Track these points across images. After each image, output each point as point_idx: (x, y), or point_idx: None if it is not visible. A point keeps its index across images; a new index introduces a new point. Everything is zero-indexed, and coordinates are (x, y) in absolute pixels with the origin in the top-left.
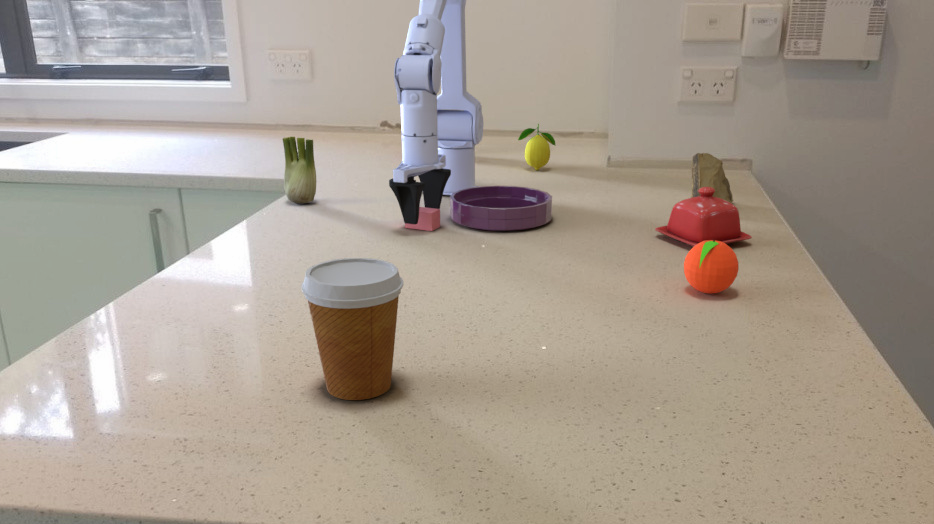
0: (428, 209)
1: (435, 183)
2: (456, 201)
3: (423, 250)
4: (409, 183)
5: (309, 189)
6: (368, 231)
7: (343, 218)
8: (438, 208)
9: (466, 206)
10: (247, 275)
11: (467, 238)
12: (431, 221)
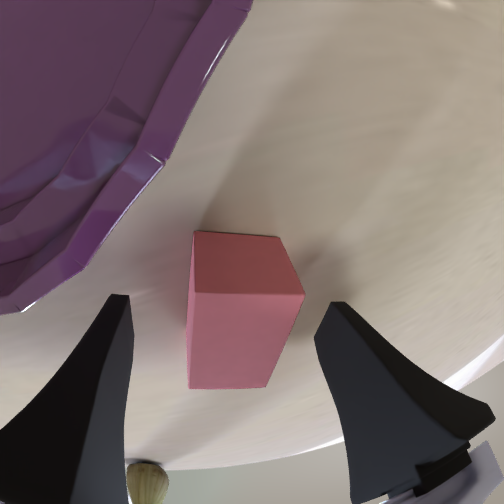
0: (226, 333)
1: (101, 450)
2: (88, 237)
3: (480, 193)
4: (463, 447)
5: (151, 482)
6: (306, 375)
7: (206, 430)
8: (120, 309)
9: (200, 91)
10: (484, 351)
11: (368, 54)
12: (292, 266)
